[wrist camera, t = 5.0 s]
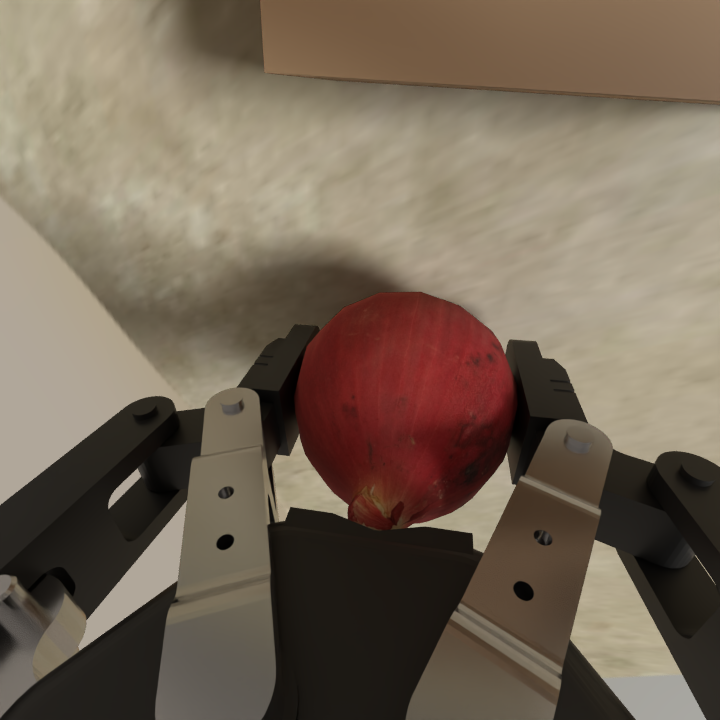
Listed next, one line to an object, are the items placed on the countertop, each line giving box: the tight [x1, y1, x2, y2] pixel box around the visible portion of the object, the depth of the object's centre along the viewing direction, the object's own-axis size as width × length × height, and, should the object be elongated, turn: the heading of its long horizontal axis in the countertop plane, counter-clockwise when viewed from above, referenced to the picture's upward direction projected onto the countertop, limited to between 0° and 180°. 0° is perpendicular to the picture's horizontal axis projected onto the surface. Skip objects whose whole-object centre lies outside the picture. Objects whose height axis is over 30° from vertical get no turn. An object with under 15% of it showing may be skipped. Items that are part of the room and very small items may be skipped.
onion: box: [294, 292, 518, 530], centre depth 11 cm, size 6×6×8 cm
